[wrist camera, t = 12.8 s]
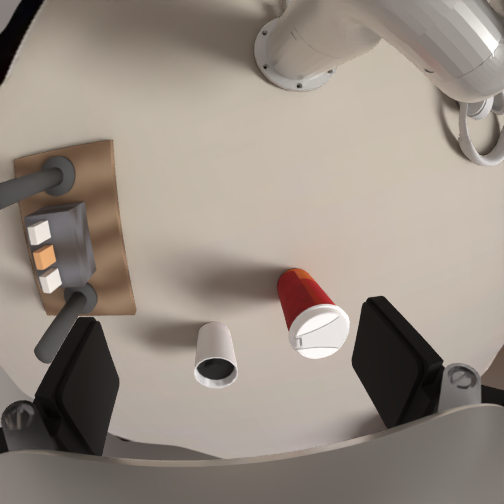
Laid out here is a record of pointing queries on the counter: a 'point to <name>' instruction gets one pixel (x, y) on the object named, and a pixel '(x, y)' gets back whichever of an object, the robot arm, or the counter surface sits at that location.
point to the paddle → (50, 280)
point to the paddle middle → (44, 257)
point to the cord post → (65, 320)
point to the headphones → (478, 111)
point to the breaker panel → (99, 224)
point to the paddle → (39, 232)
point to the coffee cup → (311, 315)
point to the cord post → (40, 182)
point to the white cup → (215, 356)
